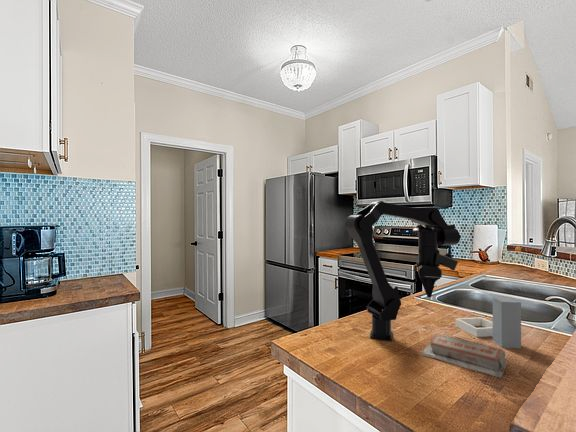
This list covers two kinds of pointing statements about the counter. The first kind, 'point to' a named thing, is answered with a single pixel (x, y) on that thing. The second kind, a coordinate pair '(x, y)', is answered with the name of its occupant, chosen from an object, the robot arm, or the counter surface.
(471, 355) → the packaged product
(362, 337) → the counter surface
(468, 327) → the tray
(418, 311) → the counter surface
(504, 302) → the slate block
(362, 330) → the counter surface
